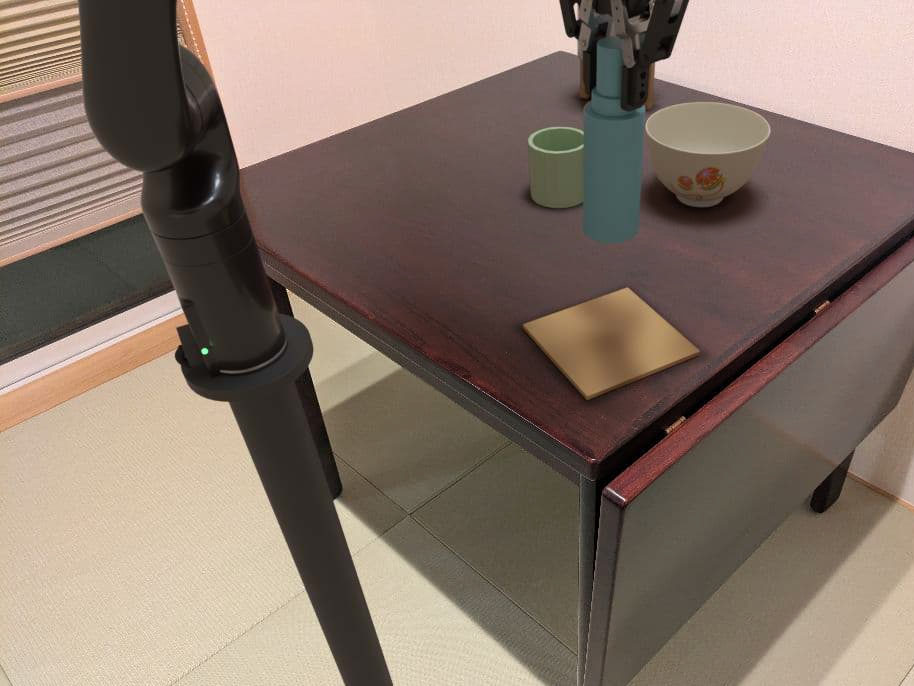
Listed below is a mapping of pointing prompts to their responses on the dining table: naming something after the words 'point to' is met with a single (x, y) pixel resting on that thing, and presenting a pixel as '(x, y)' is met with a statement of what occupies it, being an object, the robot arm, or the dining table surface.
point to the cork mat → (609, 342)
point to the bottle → (611, 153)
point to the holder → (556, 167)
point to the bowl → (705, 149)
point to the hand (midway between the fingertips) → (614, 99)
